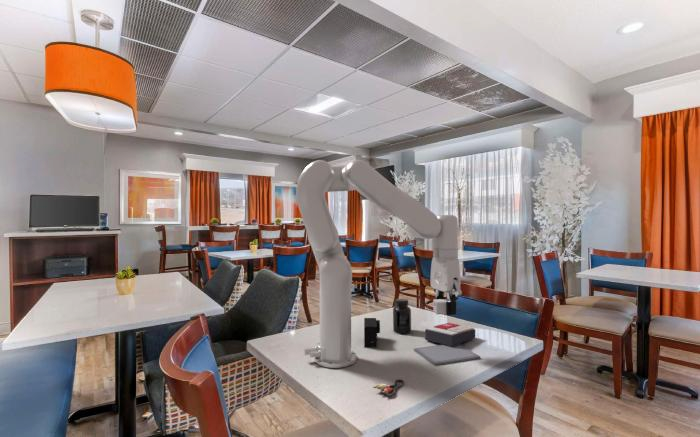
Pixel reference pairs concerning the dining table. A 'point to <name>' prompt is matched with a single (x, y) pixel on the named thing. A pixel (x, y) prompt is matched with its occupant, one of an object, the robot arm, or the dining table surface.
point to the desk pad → (446, 354)
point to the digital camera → (371, 332)
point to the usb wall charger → (440, 306)
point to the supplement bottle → (402, 317)
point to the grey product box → (449, 334)
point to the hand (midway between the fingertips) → (446, 311)
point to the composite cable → (389, 388)
